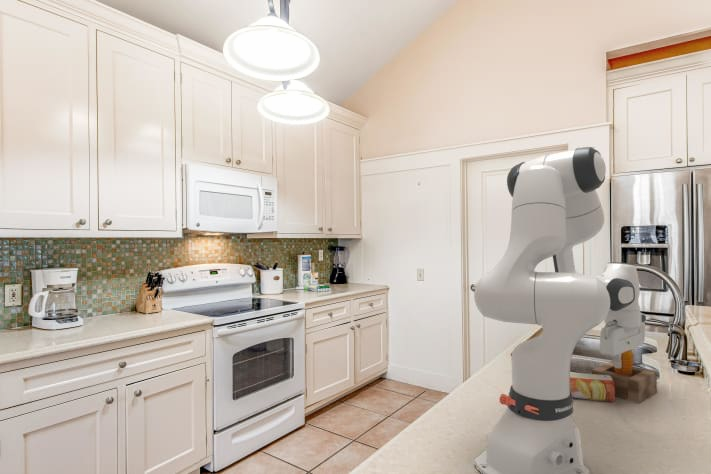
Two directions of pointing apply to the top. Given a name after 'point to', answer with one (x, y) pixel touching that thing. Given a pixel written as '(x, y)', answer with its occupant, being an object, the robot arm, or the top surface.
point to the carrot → (626, 363)
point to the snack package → (592, 387)
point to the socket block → (631, 382)
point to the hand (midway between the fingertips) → (623, 365)
